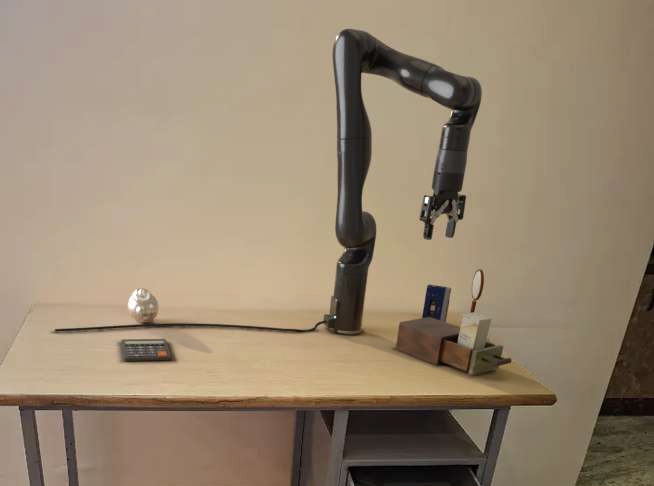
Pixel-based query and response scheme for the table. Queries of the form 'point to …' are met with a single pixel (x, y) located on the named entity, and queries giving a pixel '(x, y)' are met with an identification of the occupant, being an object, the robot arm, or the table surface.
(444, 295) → the cassette player
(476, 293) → the magnifying glass
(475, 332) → the cosmetic box
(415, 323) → the cabinet
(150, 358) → the calculator
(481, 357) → the drawer
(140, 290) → the silver rounded lump
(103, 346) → the table surface
